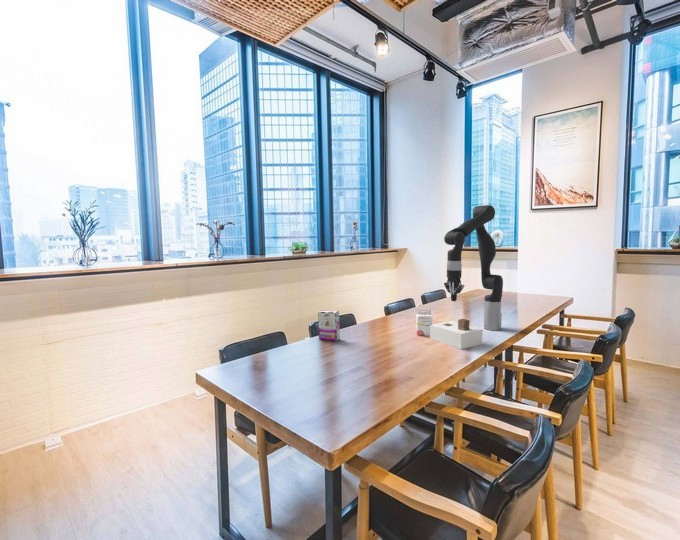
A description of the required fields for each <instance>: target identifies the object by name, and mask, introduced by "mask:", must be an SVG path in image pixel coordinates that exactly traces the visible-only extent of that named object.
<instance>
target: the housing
mask: <svg viewBox="0 0 680 540" xmlns="http://www.w3.org/2000/svg"><path fill="white" fill-rule="evenodd" d="M444 324H451V325H452V326H445V325H444ZM483 330H484V328H480V327H475V326H473V325H469V330H466V331H463V330H459V329H458V321H457V322H456V321H453V320H449V321H443V322H438V323H432V325H430V336H429V339H431V340H433V341H435V342H438V343H441V344H445V345H447V346H450V347H453V348H456V349H459V350H464V349H468V348H472V347H477V346H480V345H483V335H484V334H483V332H484V331H483Z"/></svg>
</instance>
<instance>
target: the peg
mask: <svg viewBox="0 0 680 540" xmlns="http://www.w3.org/2000/svg"><path fill="white" fill-rule="evenodd" d="M457 323H458V329H459V330H463V331H466V330H469V326H470V319H466V318H461V319H458V320H457Z"/></svg>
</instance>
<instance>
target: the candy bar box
mask: <svg viewBox="0 0 680 540" xmlns="http://www.w3.org/2000/svg"><path fill="white" fill-rule="evenodd" d="M317 316H318V319H317V320H318V339H319V340H320V341H327V342H338V341H340V340H341V338H340V337H341V335H340V334H341V332H340V330H341V329H340V311H339V310H326V309H325V310H323V309H321V310H319V311H318V312H317Z"/></svg>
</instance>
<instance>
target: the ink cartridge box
mask: <svg viewBox="0 0 680 540" xmlns="http://www.w3.org/2000/svg"><path fill="white" fill-rule="evenodd" d="M415 321H416V323H415V325H416V330H415V331H416V332H415V333H416V336H420V337H421V336H423V337H424V336H427V337H430V325H432V324H433V315H432V310H431V308H422V309H421V308H416V320H415Z"/></svg>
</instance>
